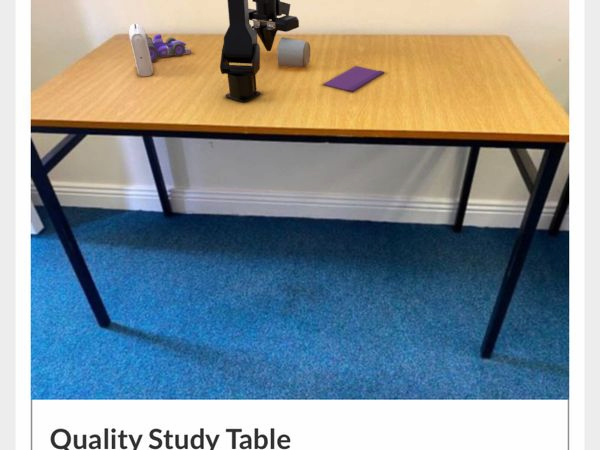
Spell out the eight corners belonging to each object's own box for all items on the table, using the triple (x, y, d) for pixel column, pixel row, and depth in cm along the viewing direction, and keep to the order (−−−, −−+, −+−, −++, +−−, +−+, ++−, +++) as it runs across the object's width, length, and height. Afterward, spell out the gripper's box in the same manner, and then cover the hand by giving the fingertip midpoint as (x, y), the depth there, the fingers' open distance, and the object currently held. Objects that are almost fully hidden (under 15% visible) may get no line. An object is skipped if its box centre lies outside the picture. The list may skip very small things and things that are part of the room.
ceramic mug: (305, 71, 131) (305, 43, 126) (277, 70, 132) (275, 41, 128) (313, 59, 139) (313, 32, 134) (287, 58, 141) (286, 31, 136)
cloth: (352, 92, 119) (352, 90, 118) (323, 85, 123) (323, 83, 123) (384, 73, 129) (384, 71, 128) (355, 67, 133) (355, 65, 133)
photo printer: (154, 75, 131) (144, 29, 124) (138, 77, 131) (127, 31, 123) (152, 63, 139) (142, 19, 132) (137, 65, 138) (126, 21, 131)
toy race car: (193, 54, 145) (189, 32, 141) (144, 64, 139) (139, 41, 135) (182, 46, 151) (179, 25, 147) (136, 55, 146) (130, 33, 142)
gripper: (310, -10, 130) (310, 48, 139) (258, -17, 139) (262, 38, 148) (285, -2, 123) (287, 59, 132) (232, -9, 132) (238, 48, 141)
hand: (269, 50), depth 139 cm, fingers closed
